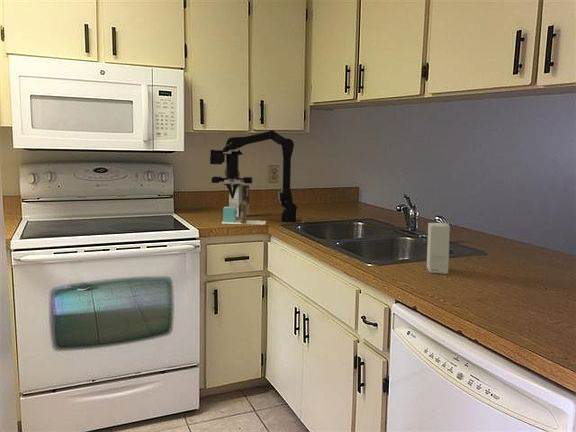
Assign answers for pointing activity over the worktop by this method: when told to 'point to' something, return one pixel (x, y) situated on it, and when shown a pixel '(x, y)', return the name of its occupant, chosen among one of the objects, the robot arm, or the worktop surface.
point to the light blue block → (229, 214)
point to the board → (246, 222)
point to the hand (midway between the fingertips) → (232, 198)
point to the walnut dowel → (243, 217)
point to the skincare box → (438, 247)
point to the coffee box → (240, 199)
